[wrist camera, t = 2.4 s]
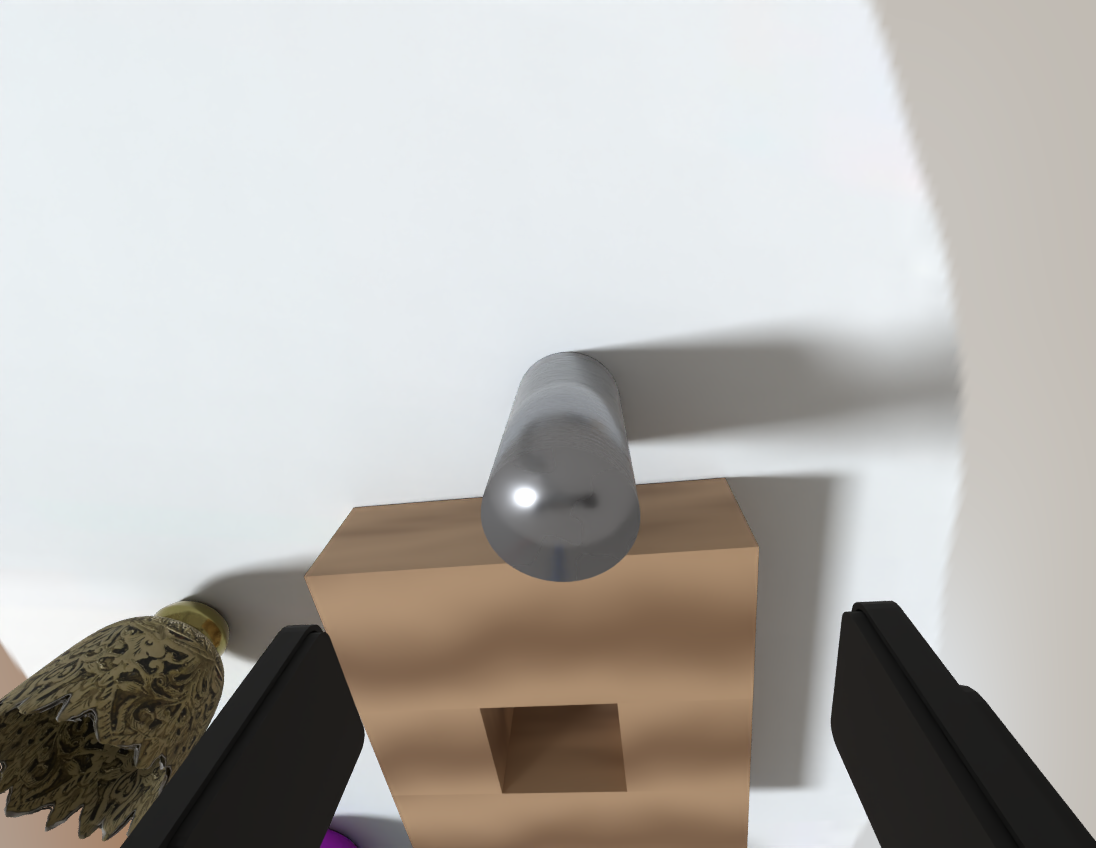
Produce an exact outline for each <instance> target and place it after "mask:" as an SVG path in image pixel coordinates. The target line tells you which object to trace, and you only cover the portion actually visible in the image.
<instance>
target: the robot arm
mask: <svg viewBox="0 0 1096 848" xmlns="http://www.w3.org/2000/svg"><path fill="white" fill-rule="evenodd" d="M831 730H832V735H833V738H834V742H835V744H836V747H837V749H838V751H839V754H840V756H841V758H842V760H843V763H844V765H845V767H846V769H847V771H848V774H849V776H850V778H851V780H852V783H853V785H854V787H855V789H856V792H857V794H858V796H859V798H860V801H861V803H862V805H863V807H864V810H865V812H866V814H867V816H868V819H869V821H870V823H871V825H872V828H873V830H874V832H875V834H876V836H877V839H878V841H879V843H880V845H881V848H1096V841H1095V840H1094V838H1093V837H1092V836H1091V835H1090V834H1089V832H1088V831H1087V830H1086V828H1085V827H1084V826H1083V824H1082V823H1081V822H1080V821H1079V819H1078V818H1077V817H1076V815H1075V814H1074V813H1073V812H1072V810H1071V809H1070V808H1069V807H1068V805H1067V804H1066V803H1065V801H1063V799H1062V798H1061V796H1060V795H1059V794H1058V793H1057V791H1056V790H1055V789H1054V788H1053V786H1052V785H1051V784H1050V782H1049V781H1048V780H1047V779H1046V777H1045V776H1044V775H1043V774H1042V772H1041V771H1040V770H1039V768H1038V767H1037V766H1036V765H1035V764H1034V762H1033V761H1032V760H1031V758H1030V757H1029V756H1028V754H1027V753H1026V752H1025V751H1024V749H1023V748H1022V747H1021V746H1020V744H1019V743H1018V742H1017V741H1016V739H1015V738H1014V737H1013V735H1012V734H1011V733H1010V732H1009V731H1008V729H1007V728H1006V726H1005V725H1004V724H1003V723H1002V721H1001V720H1000V719H999V718H998V716H997V715H996V714H995V712H994V711H993V710H992V709H991V707H990V706H989V705H988V704H987V702H986V701H985V700H984V699H983V698H982V697H981V696H980V695H979V694H978V693H977V692H976V691H975V690H973V689H972V688H970V687H968V686H963V685H959V684H958V683H957V681H956V680H955V679H954V677H953V676H952V675H951V673H950V672H949V671H948V670H947V668H946V667H945V666H944V664H943V663H942V662H941V660H940V659H939V658H938V656H937V655H936V654H935V652H934V651H933V650H932V648H931V647H930V646H929V644H928V643H927V642H926V640H925V639H924V638H923V637H922V635H921V634H920V633H919V631H918V630H917V629H916V627H915V626H914V625H913V623H912V622H911V621H910V619H909V618H908V617H907V615H906V614H905V613H904V611H903V610H902V609H901V608H900V606H899V605H898V604H897V603H895V602H893V601H875V602H856V603H854V605H853V607H852V612H844V613H843V615H842V622H841V631H840V640H839V649H838V658H837V667H836V677H835V686H834V695H833V704H832V713H831ZM364 736H365V734H364V727H363V724H362V721H361V719H360V716H359V713H358V711H357V708H356V705H355V703H354V700H353V697H352V695H351V692H350V689H349V687H348V684H347V681H346V679H345V676H344V673H343V671H342V668H341V665H340V663H339V660H338V657H337V655H336V652H335V649H334V647H333V644H332V641H331V639H330V636H329V635H328V634H327V633H326V632H323V631H322V629H321V628H320V627H319V626H318V625H292V626H286V627H284V628H283V629H282V630H281V631H280V632H279V633H278V634H277V636H276V637H275V638H274V640H273V641H272V642H271V644H270V645H269V646H268V648H267V649H266V651H265V652H264V653H263V655H262V656H261V657H260V659H259V660H258V661H257V663H256V664H255V665H254V667H253V668H252V670H251V671H250V672H249V674H248V675H247V676H246V678H245V679H244V680H243V682H242V683H241V684H240V686H239V687H238V688H237V690H236V691H235V693H234V694H233V695H232V697H231V698H230V699H229V701H228V702H227V703H226V705H225V706H224V707H223V709H222V710H221V712H220V713H219V714H218V716H217V717H216V718H215V720H214V721H213V722H212V724H211V725H210V726H209V728H208V729H207V731H206V732H205V733H204V735H203V736H202V737H201V739H200V740H199V741H198V743H197V744H196V745H195V747H194V748H193V750H192V751H191V752H190V754H189V755H188V756H187V758H186V759H185V760H184V762H183V763H182V764H181V766H180V767H179V769H178V770H177V771H176V773H175V774H174V775H173V777H172V778H171V779H170V781H169V782H168V783H167V785H166V786H165V787H164V789H163V790H162V792H161V793H160V794H159V796H158V797H157V798H156V800H155V801H154V802H153V804H152V805H151V806H150V808H149V809H148V811H147V812H146V813H145V815H144V816H143V817H142V819H141V820H140V821H139V823H138V824H137V825H136V827H135V828H134V830H133V831H132V832H131V834H130V835H129V836H128V838H127V839H126V840H125V842H124V843H123V844H122V846H121V847H120V848H320V846H321V844H322V842H323V839H324V837H325V835H326V832H327V830H328V828H329V825H330V823H331V821H332V818H333V816H334V814H335V811H336V809H337V807H338V804H339V802H340V799H341V797H342V795H343V792H344V790H345V788H346V785H347V783H348V781H349V778H350V776H351V774H352V771H353V769H354V767H355V764H356V762H357V760H358V757H359V755H360V753H361V750H362V747H363V743H364Z"/></svg>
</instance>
